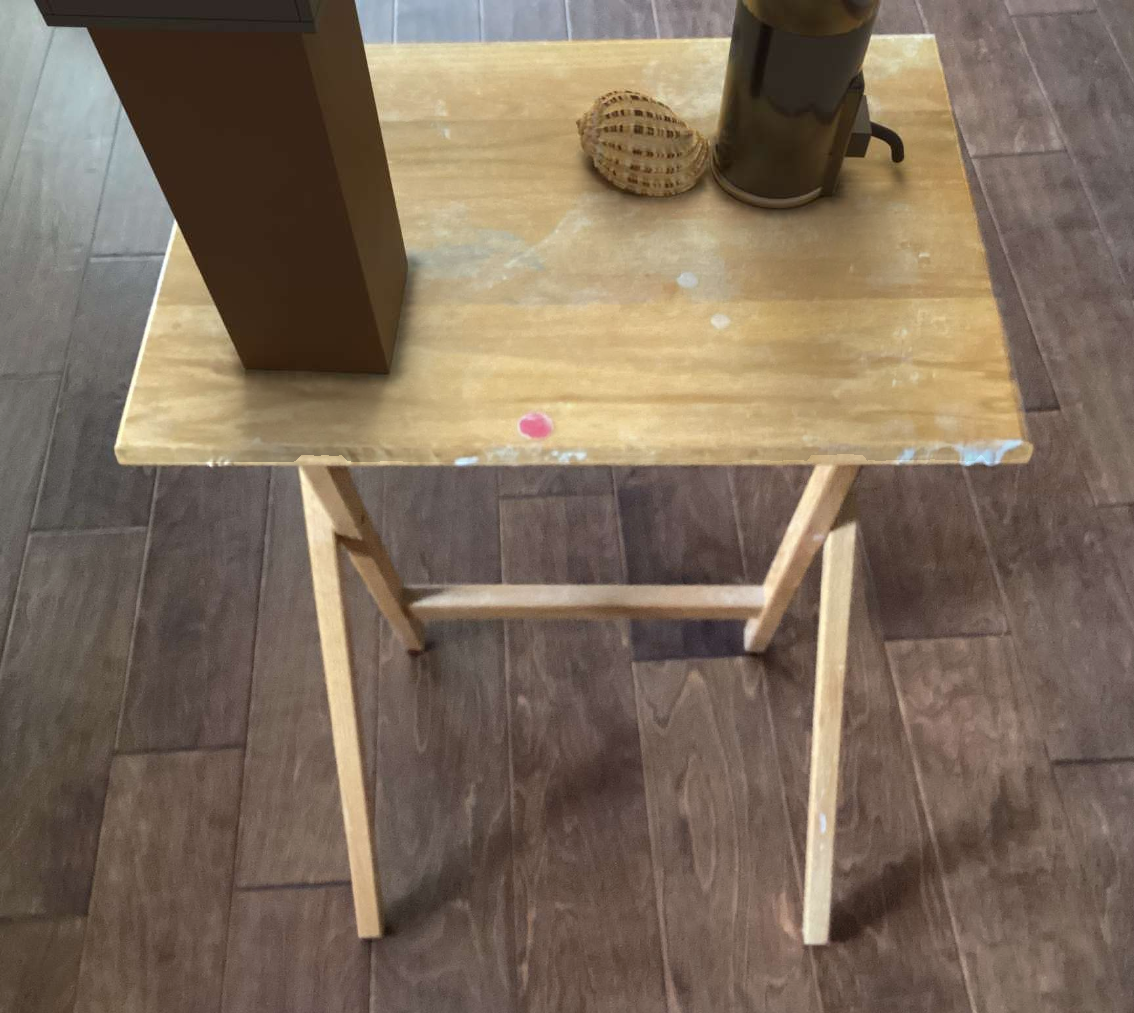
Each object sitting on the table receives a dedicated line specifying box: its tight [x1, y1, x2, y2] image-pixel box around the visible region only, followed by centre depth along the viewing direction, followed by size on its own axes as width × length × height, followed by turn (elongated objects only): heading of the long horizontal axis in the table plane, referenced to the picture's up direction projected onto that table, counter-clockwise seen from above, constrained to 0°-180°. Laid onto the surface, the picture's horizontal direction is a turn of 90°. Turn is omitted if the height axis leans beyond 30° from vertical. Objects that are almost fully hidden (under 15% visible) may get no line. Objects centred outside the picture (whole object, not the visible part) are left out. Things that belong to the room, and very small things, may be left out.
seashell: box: [575, 89, 712, 197], centre depth 75 cm, size 8×6×10 cm
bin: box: [33, 0, 409, 374], centre depth 56 cm, size 12×12×32 cm
